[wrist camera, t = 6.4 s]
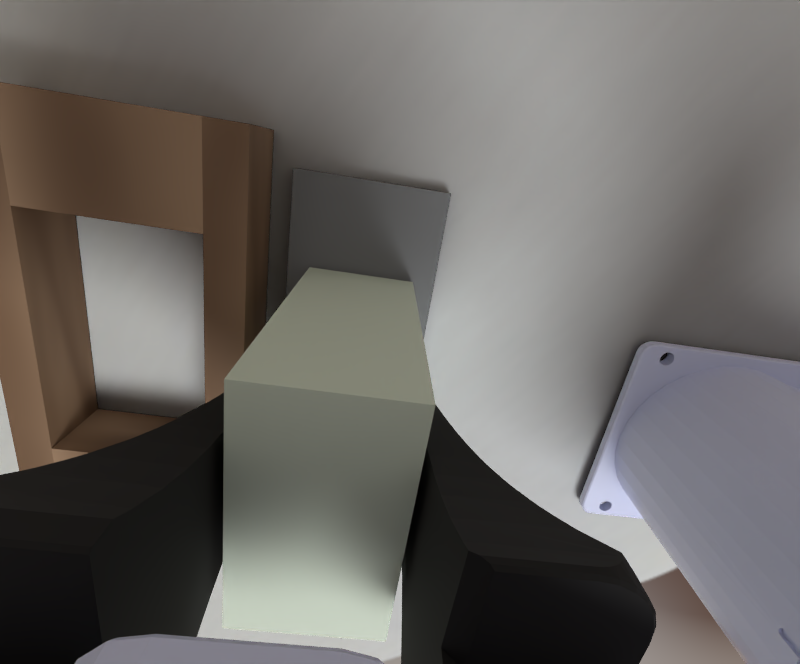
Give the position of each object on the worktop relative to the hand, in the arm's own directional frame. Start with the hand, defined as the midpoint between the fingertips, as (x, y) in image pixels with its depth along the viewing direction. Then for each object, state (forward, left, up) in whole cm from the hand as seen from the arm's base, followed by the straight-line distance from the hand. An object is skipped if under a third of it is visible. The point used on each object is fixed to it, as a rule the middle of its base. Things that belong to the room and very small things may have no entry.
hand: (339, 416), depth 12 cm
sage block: (0, 0, -4) cm, 4 cm away
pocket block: (+7, 0, -5) cm, 8 cm away
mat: (0, 0, -5) cm, 5 cm away
